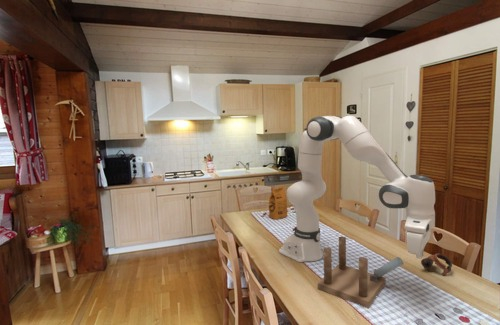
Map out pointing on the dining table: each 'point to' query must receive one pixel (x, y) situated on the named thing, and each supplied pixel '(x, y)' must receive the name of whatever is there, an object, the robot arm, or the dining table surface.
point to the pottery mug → (437, 263)
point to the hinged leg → (388, 267)
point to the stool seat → (350, 278)
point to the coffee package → (278, 204)
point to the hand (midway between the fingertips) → (419, 257)
